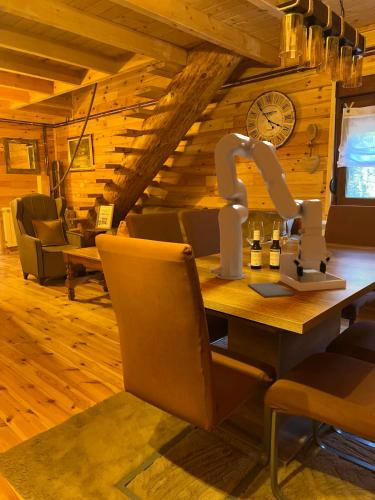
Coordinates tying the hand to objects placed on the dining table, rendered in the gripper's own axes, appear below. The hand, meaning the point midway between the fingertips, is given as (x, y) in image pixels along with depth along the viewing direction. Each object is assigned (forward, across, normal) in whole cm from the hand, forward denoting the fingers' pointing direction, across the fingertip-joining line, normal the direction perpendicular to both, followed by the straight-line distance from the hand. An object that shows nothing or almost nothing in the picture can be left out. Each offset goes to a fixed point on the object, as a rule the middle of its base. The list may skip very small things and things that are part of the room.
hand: (311, 274), depth 147 cm
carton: (+3, 0, -1) cm, 3 cm away
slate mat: (+3, -19, -5) cm, 20 cm away
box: (+4, 0, -1) cm, 4 cm away
